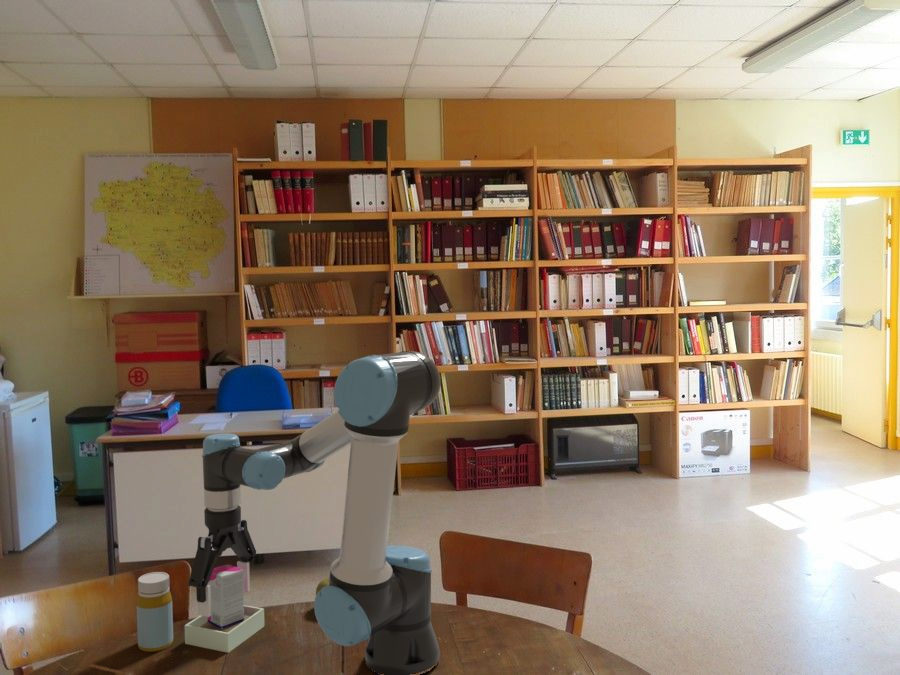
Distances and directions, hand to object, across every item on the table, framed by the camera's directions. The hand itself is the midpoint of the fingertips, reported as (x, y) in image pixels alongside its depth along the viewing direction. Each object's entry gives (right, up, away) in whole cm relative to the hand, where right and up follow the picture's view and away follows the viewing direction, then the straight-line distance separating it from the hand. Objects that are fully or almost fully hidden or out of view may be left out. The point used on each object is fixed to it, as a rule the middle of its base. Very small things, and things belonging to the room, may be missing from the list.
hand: (224, 602), depth 170 cm
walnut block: (0, -7, +1) cm, 7 cm away
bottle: (-14, -8, -3) cm, 16 cm away
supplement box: (0, -4, 0) cm, 4 cm away
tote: (0, -8, +1) cm, 8 cm away
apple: (+21, -7, +15) cm, 27 cm away
